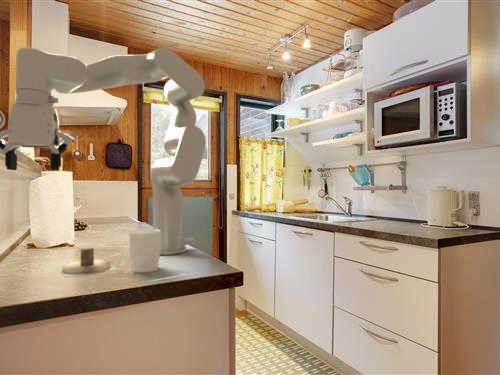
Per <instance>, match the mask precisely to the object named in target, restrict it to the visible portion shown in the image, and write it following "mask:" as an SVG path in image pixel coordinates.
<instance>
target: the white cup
mask: <svg viewBox="0 0 500 375" xmlns="http://www.w3.org/2000/svg"><path fill="white" fill-rule="evenodd" d="M160 241H161V231H160V230H153V229H135V230H130V231H128V250H129V261H130V272H132V273H133V272H134V273H149V272H154V271H157V270H159V265H160V256H161V255H160Z"/></svg>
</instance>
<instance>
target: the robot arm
mask: <svg viewBox="0 0 500 375" xmlns="http://www.w3.org/2000/svg"><path fill="white" fill-rule="evenodd" d="M167 78H169V79H170V80H168V81H167V82H166V83H165V85H164V87H163V90H164V91H163V92H164V96H165V98H166V100H167V102H168V104H169V106H170V109H171V112H172V113H171V119H170V123H169V125H168V128H167V131H166V134H165V138H164V141H163V148H164V151H165V152H166V154H168V155H169V156H167V157H166V156H165V157H162V158H160V159H157V160H156V161H155V162H154V163H153V164H152V165H151V169H150V180H151V185H152V186H151V187H152V230H160V231H161V241H160V256H166V255H167V256H168V255H169V256H170V255H179V254H183V253H185V252H186V251H187V250H188V248H187V246H186V245H192V244H195V241H196V240H195V238H194V237H190V238H186V237H185V236H183V195H182V190H181V188H180V186H188V185H190V184H192V183H193V182H194V181H195V180H196V178H197V176H198V174H199V171H200V168H201V163H202V160H203V157H204V154H205V150H206V143H207V141H206V136H205V133H204V131H203V130H202V129H201V128H200V127H199V126H196V123H197V113H196V111H195V109H194V106H193V105H192V103H191V101H192V100H196V99H198V98H200V97H201V96H202V95H203V93H204V92H205V87H206V85H205V81H204V79H203V76H201V74H200V73H199V72H198V71H196V69H194V68H193V67H192V66H191V65H189V63H187V62H186V61H185V60H184V59H183V58H182V57H181V56H179V55H178V54H176V53H175V52H173V50H171V49H168V48H167V47H159V48H156V49H154V50H153V51H151V52H149V53H146V54H125V55H124V54H120V55H112V56H108V57H106V58H103V59H100V60H98V61H96V62H92V63H88V64H86V63H85V62H84V61H83V60H81V59H80V58H77V57H74V56H71V55H65V54H56V53H50V52H46V51H44V50H42V49H39V48H34V47H20V48H18V50H17V51H16V54H15V103H12V106H11V110H10V112H9V113H10V114H9V117H8V123H7V124H8V125H7V128H6V129H4V130H2V131H0V149H1V151H2V152H3V153H4V155H5V158H4V160H5V161H4V162H5V167H6V170H8V171H17V169H18V154H17V153H15V152H16V151H18V150H19V149H20V148H21V147H22V148H35V149H37V148H40V149H43V148H44V149H46V148H47V149H50V150H51V152H52V153H51V154H50V170H52V171H55V172H56V171H58V172H59V171H60V168H61V166H62V155H63V154H64V153H65V152H66V151H67V150H68V149H69V148H70V146H71V144H72V142H73V140H74V139H73V137H71V136H70V135H68V134H65V133H63V131H60V122H59V117H58V112H57V111H58V110H57V109H56V108H55V107H54V104H58V103H59V98H58V97H55V96H54V95H53V91H54V92H57V93H59V94H63V95H68V94H78V93H86V92H87V93H88V92H94V91H99V90H104V89H105V90H106V89H114V88H117V87H122V86H123V87H124V86H131V85H140V84H151V83H157V82H159V81H162V80H165V79H167ZM5 138H7V141H8V143H6V142H5V140H4V139H5ZM61 139H63V143H61ZM60 143H61V144H60Z"/></svg>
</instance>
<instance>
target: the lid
mask: <svg viewBox="0 0 500 375" xmlns="http://www.w3.org/2000/svg"><path fill="white" fill-rule="evenodd" d="M94 252H95V248H94V247H84V248H80V261H79V260H78V261H72V262H69V263H66V264H64V265H63V266H61V267H62V272H63V273H67V274H85V273H92V274H95V273H94V272H99V271H103V270H106V269H108V268H110V267H111V265H112V263H111V261H109V260H106V259H105V260H103V259H95V258H94V257H95V253H94ZM99 273H100V272H99Z"/></svg>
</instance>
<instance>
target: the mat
mask: <svg viewBox="0 0 500 375" xmlns="http://www.w3.org/2000/svg"><path fill="white" fill-rule="evenodd" d="M55 270H57V271H58V272H59V273H60V274H61V275H62V276H64V277H65V278H71V277H79V276H85V275H92V274H97V273H99V274H100V273H105V272H109V271H117V270H118V271H119V268H118V267H116V266H115V265H113V264H111V267H110V268H108V269H106V270H103V271H99V272H94V273H85V274H67V273H63V272H62V266H60V267H59V266H58V267H55Z"/></svg>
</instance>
